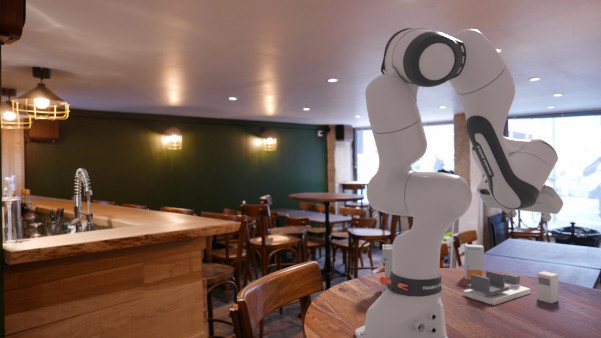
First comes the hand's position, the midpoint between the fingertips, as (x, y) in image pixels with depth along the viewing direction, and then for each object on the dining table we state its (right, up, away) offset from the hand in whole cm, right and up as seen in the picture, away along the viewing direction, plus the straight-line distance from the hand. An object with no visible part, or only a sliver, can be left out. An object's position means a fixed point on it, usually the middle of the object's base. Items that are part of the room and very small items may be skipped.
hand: (529, 217), depth 108 cm
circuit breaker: (-32, -26, +12) cm, 43 cm away
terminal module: (+10, -26, +8) cm, 29 cm away
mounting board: (-3, -26, +13) cm, 29 cm away
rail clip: (-3, -24, +13) cm, 28 cm away
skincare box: (-2, -26, +30) cm, 39 cm away
